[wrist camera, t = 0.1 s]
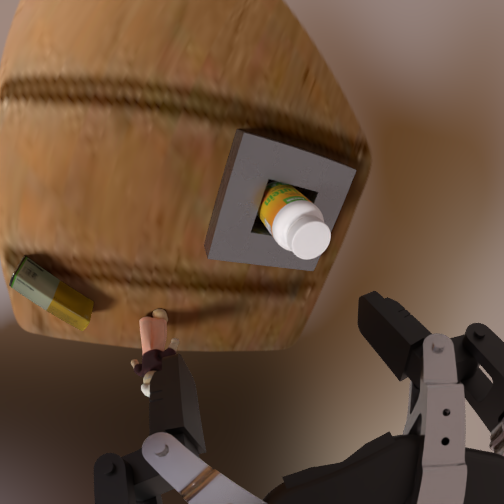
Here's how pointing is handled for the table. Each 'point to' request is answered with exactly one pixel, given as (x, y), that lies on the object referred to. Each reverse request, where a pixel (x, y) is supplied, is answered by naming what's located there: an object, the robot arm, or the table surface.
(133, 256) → the table surface
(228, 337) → the table surface
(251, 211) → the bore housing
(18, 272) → the medication box
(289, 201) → the supplement bottle
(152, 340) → the grandmother figurine
